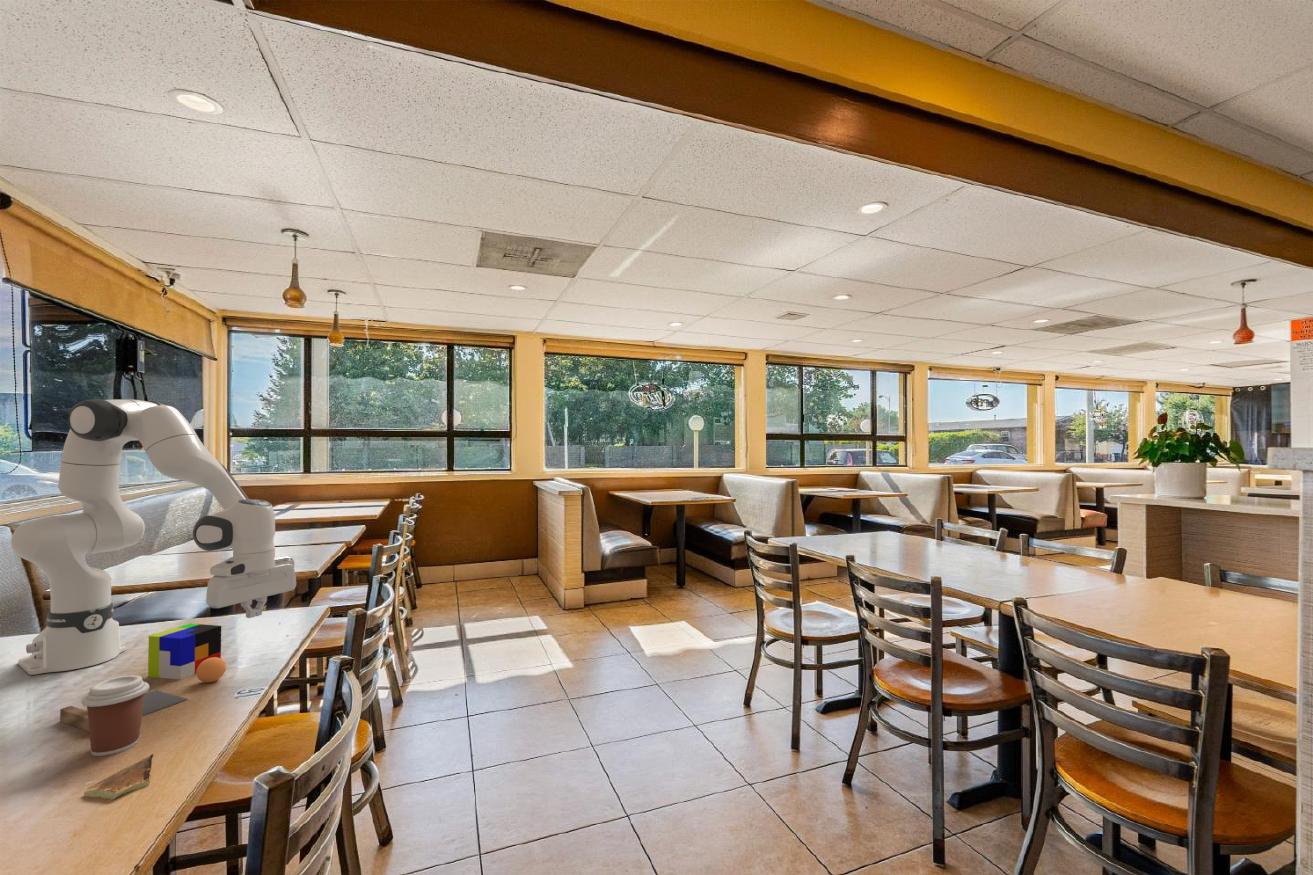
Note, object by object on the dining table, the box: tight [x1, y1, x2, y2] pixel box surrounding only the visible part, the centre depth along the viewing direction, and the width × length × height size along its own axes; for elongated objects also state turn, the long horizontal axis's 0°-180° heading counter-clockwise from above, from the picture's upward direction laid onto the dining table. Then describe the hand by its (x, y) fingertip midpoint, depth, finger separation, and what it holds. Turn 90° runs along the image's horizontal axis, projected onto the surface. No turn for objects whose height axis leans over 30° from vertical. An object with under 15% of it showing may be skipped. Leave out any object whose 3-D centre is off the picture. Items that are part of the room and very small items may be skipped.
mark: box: [142, 689, 189, 717], centre depth 120 cm, size 12×12×1 cm
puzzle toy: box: [147, 623, 222, 680], centre depth 140 cm, size 10×10×10 cm
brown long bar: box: [59, 705, 89, 732], centre depth 112 cm, size 14×2×2 cm, turn 68°
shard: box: [83, 753, 154, 800], centre depth 94 cm, size 11×8×2 cm
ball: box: [195, 657, 227, 683], centre depth 133 cm, size 6×6×6 cm
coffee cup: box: [81, 674, 150, 757], centre depth 104 cm, size 9×9×12 cm
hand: (254, 616), depth 142 cm, fingers closed
